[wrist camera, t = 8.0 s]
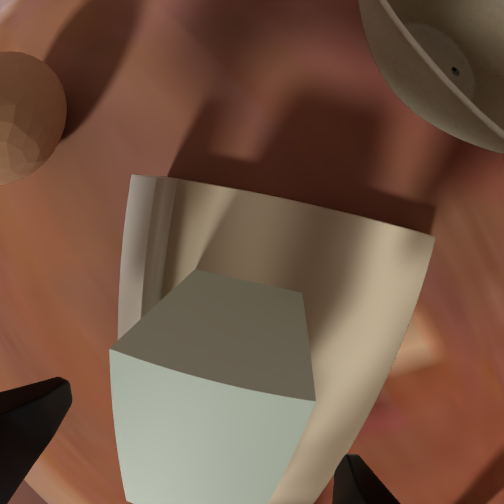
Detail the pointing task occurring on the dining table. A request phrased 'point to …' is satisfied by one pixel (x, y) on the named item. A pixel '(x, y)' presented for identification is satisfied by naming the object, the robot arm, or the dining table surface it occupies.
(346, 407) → the shelf
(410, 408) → the dining table surface
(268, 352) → the pale green block
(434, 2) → the bowl
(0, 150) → the egg
